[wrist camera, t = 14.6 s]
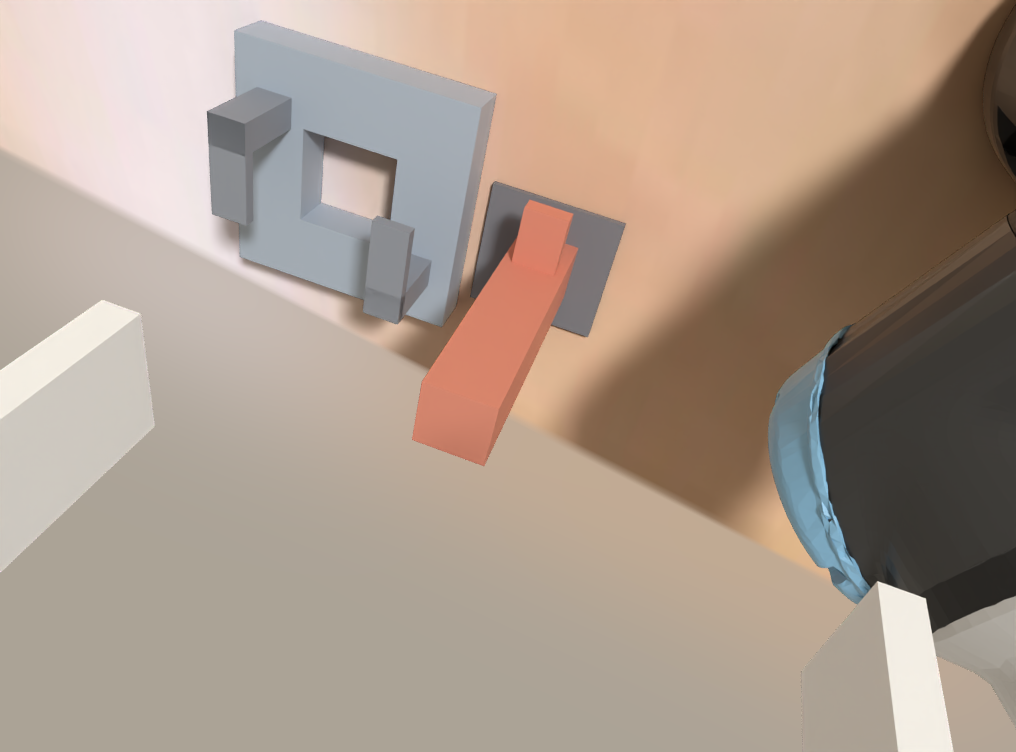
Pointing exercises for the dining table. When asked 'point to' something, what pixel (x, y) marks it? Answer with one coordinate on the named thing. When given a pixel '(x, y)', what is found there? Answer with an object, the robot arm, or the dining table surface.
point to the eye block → (363, 123)
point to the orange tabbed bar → (497, 340)
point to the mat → (585, 233)
